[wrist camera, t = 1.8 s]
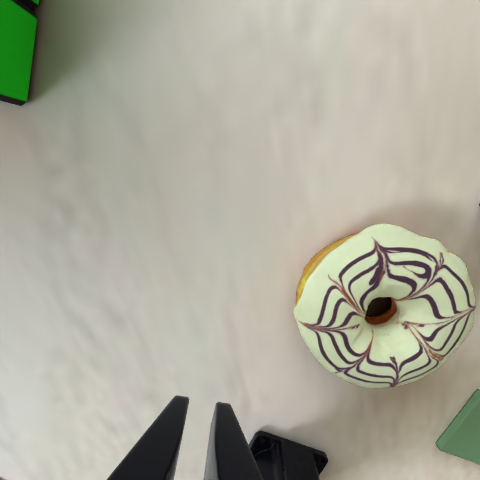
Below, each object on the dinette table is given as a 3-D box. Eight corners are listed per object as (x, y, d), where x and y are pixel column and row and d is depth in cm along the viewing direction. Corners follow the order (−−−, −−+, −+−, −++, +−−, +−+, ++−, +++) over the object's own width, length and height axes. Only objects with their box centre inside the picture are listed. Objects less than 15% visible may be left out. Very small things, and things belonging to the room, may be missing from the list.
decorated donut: (358, 190, 19) (388, 196, 15) (473, 279, 20) (525, 304, 17) (262, 310, 21) (268, 341, 17) (373, 381, 22) (400, 424, 19)
